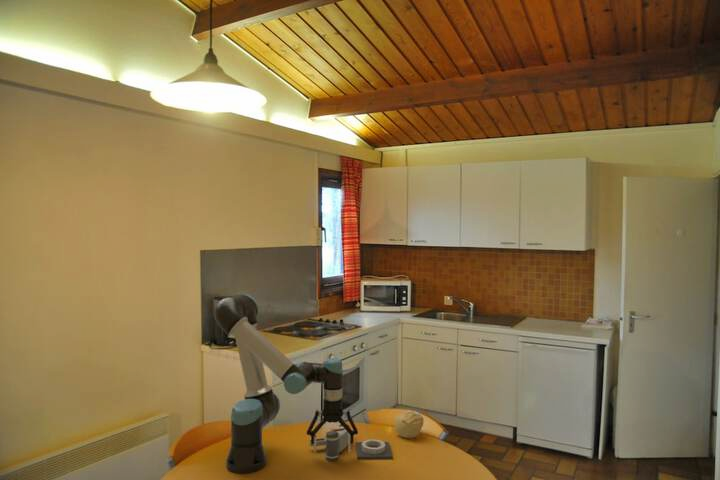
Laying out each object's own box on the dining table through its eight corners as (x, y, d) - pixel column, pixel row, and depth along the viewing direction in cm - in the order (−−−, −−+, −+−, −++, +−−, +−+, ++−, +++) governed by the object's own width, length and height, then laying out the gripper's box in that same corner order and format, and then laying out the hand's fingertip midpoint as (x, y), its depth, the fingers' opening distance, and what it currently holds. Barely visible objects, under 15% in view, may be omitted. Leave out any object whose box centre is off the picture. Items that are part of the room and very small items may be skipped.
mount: (357, 459, 197) (357, 451, 197) (355, 444, 211) (355, 437, 211) (392, 458, 198) (392, 451, 198) (388, 444, 212) (388, 437, 212)
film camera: (318, 436, 222) (351, 438, 219) (307, 452, 202) (343, 454, 200) (318, 420, 222) (351, 421, 220) (307, 435, 203) (343, 437, 200)
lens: (325, 461, 195) (325, 436, 195) (325, 455, 200) (325, 431, 200) (338, 461, 195) (338, 436, 195) (338, 455, 200) (338, 430, 200)
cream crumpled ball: (409, 443, 213) (410, 418, 213) (389, 434, 222) (390, 410, 222) (427, 436, 221) (427, 412, 220) (407, 428, 229) (407, 405, 229)
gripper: (300, 401, 193) (300, 456, 193) (364, 401, 194) (364, 455, 194) (301, 395, 200) (301, 447, 200) (363, 395, 202) (362, 447, 202)
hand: (332, 451), depth 197 cm, fingers open, 13 cm apart
